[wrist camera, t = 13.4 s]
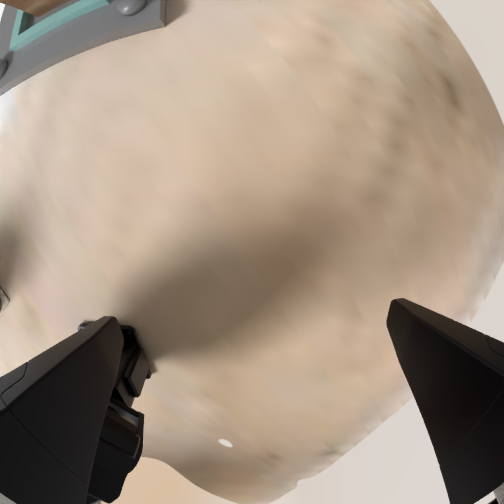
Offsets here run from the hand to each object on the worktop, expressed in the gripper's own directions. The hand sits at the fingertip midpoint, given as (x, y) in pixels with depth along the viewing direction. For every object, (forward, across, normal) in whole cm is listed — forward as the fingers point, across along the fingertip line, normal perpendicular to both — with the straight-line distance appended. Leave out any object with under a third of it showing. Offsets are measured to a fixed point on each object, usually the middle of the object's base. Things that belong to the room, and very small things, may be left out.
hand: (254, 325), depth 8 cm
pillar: (+10, +14, -23) cm, 29 cm away
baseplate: (+12, +14, -23) cm, 29 cm away
